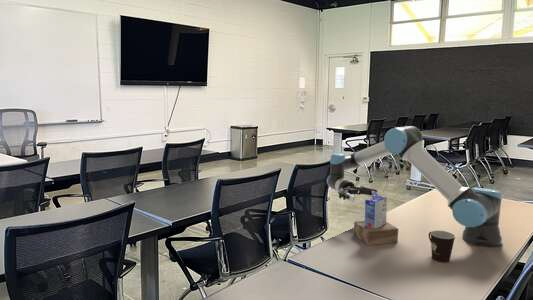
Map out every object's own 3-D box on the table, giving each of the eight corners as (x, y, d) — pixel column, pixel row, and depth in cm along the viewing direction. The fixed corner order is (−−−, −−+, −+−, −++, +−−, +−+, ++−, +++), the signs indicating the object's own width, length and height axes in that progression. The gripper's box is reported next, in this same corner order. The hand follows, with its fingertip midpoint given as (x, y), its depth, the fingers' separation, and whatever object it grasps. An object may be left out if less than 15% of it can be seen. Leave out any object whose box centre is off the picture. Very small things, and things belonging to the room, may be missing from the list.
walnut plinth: (397, 242, 171) (398, 228, 170) (368, 245, 168) (369, 231, 167) (380, 231, 184) (381, 219, 183) (353, 234, 180) (354, 221, 179)
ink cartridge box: (375, 221, 180) (377, 190, 178) (386, 224, 176) (388, 192, 174) (363, 226, 173) (365, 194, 171) (374, 229, 169) (376, 196, 167)
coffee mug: (455, 264, 150) (457, 239, 148) (431, 262, 151) (433, 237, 150) (447, 252, 161) (449, 228, 159) (425, 250, 163) (427, 227, 161)
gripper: (366, 192, 207) (390, 203, 187) (322, 196, 200) (342, 208, 180) (367, 178, 206) (390, 188, 186) (323, 181, 199) (342, 192, 179)
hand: (366, 198), depth 183 cm, fingers open, 13 cm apart
